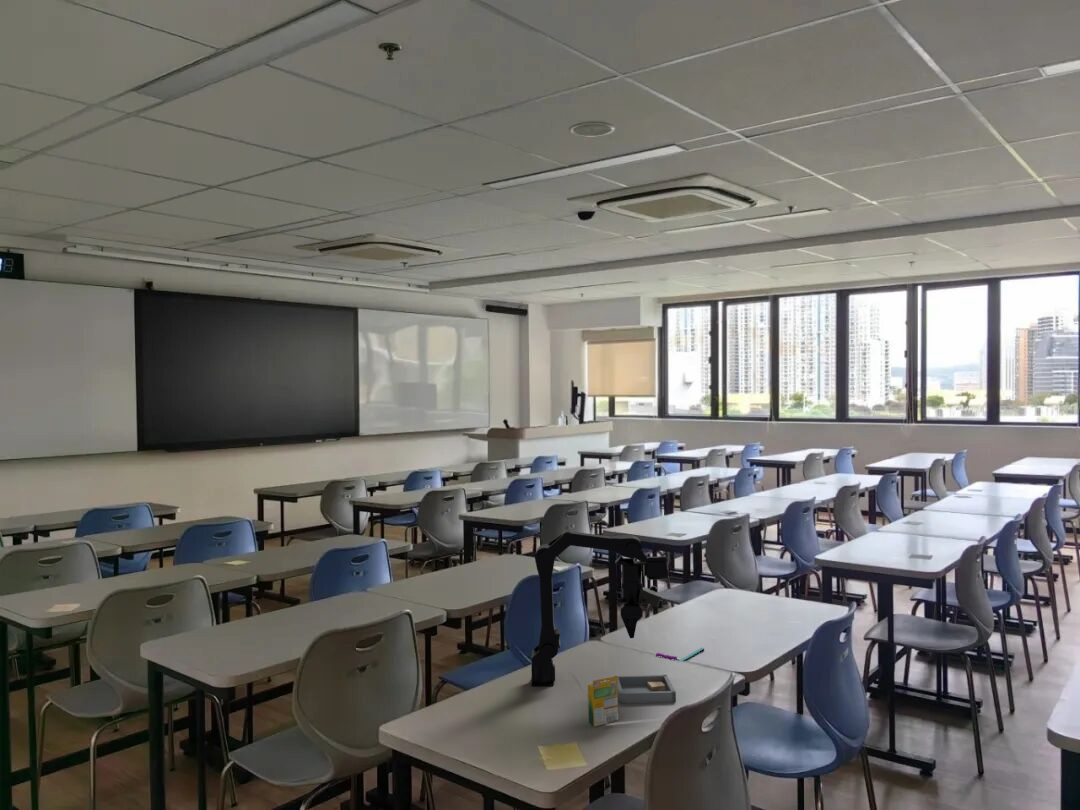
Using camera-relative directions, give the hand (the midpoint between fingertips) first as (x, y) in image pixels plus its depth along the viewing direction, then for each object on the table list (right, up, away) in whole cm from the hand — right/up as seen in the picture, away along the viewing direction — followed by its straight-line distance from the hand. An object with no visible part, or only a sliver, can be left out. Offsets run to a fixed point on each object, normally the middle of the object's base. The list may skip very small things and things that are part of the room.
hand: (631, 633), depth 230 cm
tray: (+2, -14, -10) cm, 18 cm away
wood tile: (+6, -13, -7) cm, 16 cm away
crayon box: (-11, -15, -29) cm, 34 cm away
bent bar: (+14, -15, +20) cm, 28 cm away
